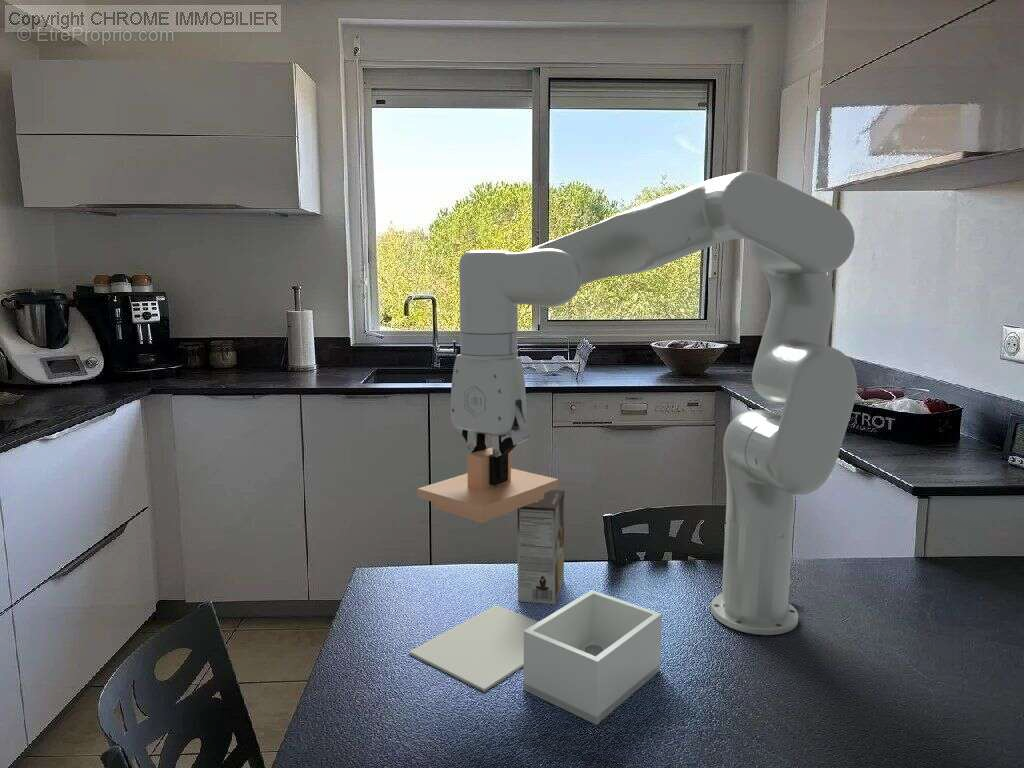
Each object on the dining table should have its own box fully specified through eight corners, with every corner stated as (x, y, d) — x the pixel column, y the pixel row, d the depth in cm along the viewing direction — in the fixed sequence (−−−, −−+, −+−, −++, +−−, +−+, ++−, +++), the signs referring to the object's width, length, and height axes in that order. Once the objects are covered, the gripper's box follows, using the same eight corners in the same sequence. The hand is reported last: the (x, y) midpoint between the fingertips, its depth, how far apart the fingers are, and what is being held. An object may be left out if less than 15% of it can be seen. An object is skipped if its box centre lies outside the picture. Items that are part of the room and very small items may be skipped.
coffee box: (527, 577, 125) (527, 487, 122) (564, 581, 124) (565, 489, 121) (516, 602, 116) (516, 505, 114) (556, 605, 115) (557, 507, 112)
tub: (590, 642, 104) (591, 589, 102) (660, 670, 97) (661, 613, 95) (523, 689, 92) (523, 631, 91) (596, 724, 85) (597, 661, 84)
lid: (495, 482, 109) (495, 434, 108) (558, 498, 102) (558, 447, 101) (418, 508, 97) (417, 455, 96) (482, 528, 90) (482, 471, 89)
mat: (495, 607, 115) (495, 604, 114) (568, 636, 106) (568, 633, 106) (409, 653, 101) (409, 651, 101) (484, 691, 92) (484, 689, 92)
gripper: (425, 343, 98) (428, 476, 102) (518, 353, 88) (518, 500, 91) (464, 339, 104) (466, 464, 107) (555, 347, 94) (554, 485, 97)
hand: (490, 479), depth 99 cm, fingers closed on lid, 2 cm apart
